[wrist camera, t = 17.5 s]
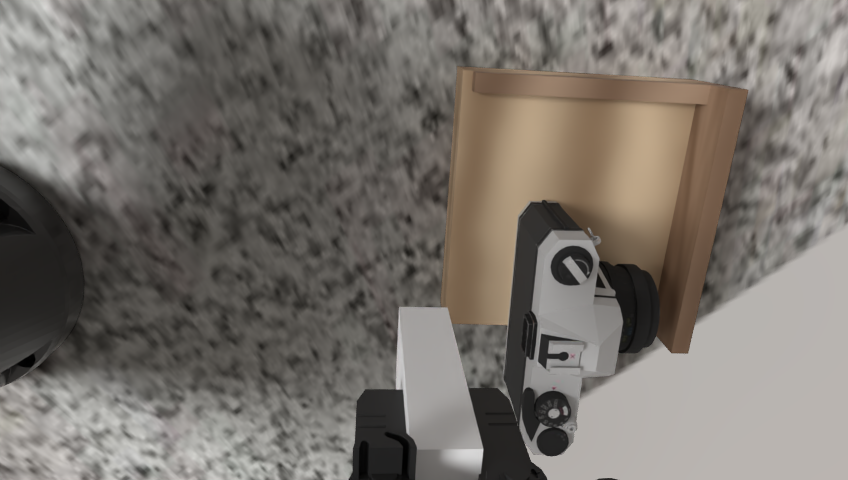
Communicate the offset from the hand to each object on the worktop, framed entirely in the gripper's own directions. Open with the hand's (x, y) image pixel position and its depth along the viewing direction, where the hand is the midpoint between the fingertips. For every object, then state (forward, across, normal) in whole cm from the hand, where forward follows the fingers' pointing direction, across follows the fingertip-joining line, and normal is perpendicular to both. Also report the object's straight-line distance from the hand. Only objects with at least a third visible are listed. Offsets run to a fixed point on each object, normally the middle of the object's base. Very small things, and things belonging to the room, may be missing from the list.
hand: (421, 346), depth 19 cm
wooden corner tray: (+19, +10, 0) cm, 22 cm away
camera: (+16, +10, -6) cm, 20 cm away
